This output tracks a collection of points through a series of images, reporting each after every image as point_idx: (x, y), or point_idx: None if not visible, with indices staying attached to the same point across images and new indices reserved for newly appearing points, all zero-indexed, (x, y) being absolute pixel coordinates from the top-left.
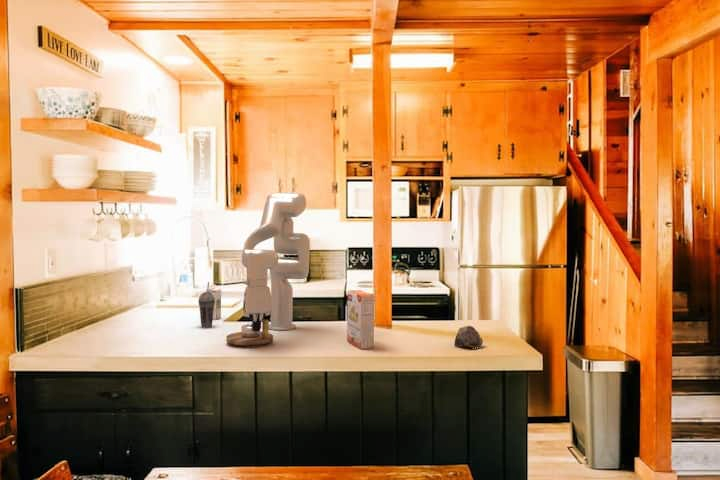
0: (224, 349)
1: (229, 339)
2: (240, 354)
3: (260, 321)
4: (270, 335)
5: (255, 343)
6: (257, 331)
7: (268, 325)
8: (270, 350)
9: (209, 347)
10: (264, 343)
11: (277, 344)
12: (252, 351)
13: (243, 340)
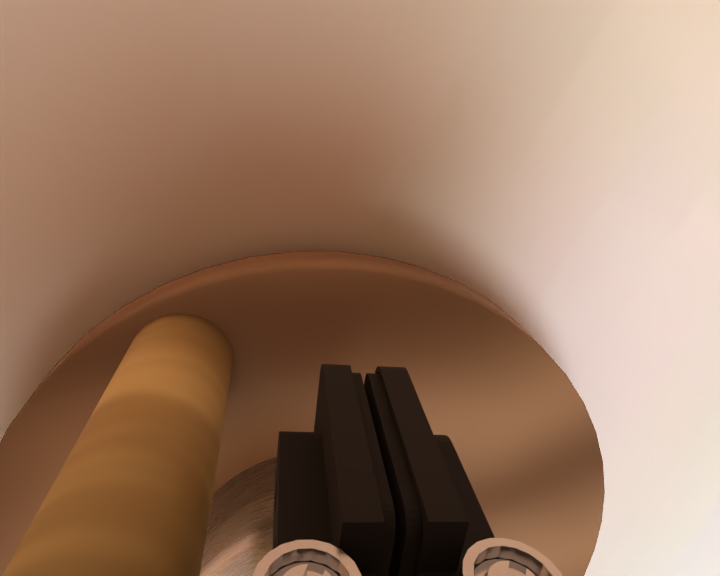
0: (668, 366)
1: (599, 510)
2: (695, 45)
3: (300, 556)
4: (25, 491)
5: (388, 263)
6: (258, 527)
7: (59, 475)
8: (257, 6)
9: (713, 495)
10: (240, 260)
11: (9, 290)
12: (494, 107)
13: (517, 379)
